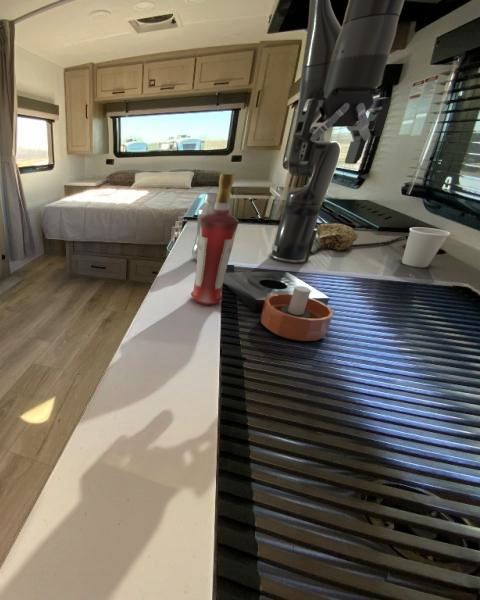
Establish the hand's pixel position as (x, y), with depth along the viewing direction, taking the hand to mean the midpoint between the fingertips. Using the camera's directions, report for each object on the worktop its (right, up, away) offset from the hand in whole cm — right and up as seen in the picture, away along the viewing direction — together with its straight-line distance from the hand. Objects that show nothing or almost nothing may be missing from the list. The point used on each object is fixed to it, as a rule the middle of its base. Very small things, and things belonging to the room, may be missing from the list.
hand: (327, 164), depth 61 cm
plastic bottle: (-8, -13, +42) cm, 45 cm away
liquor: (-16, -25, +16) cm, 35 cm away
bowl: (-4, -31, +5) cm, 31 cm away
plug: (-4, -30, +5) cm, 31 cm away
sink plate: (0, -24, +19) cm, 30 cm away
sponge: (+44, -5, +56) cm, 72 cm away
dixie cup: (+53, -15, +37) cm, 67 cm away
